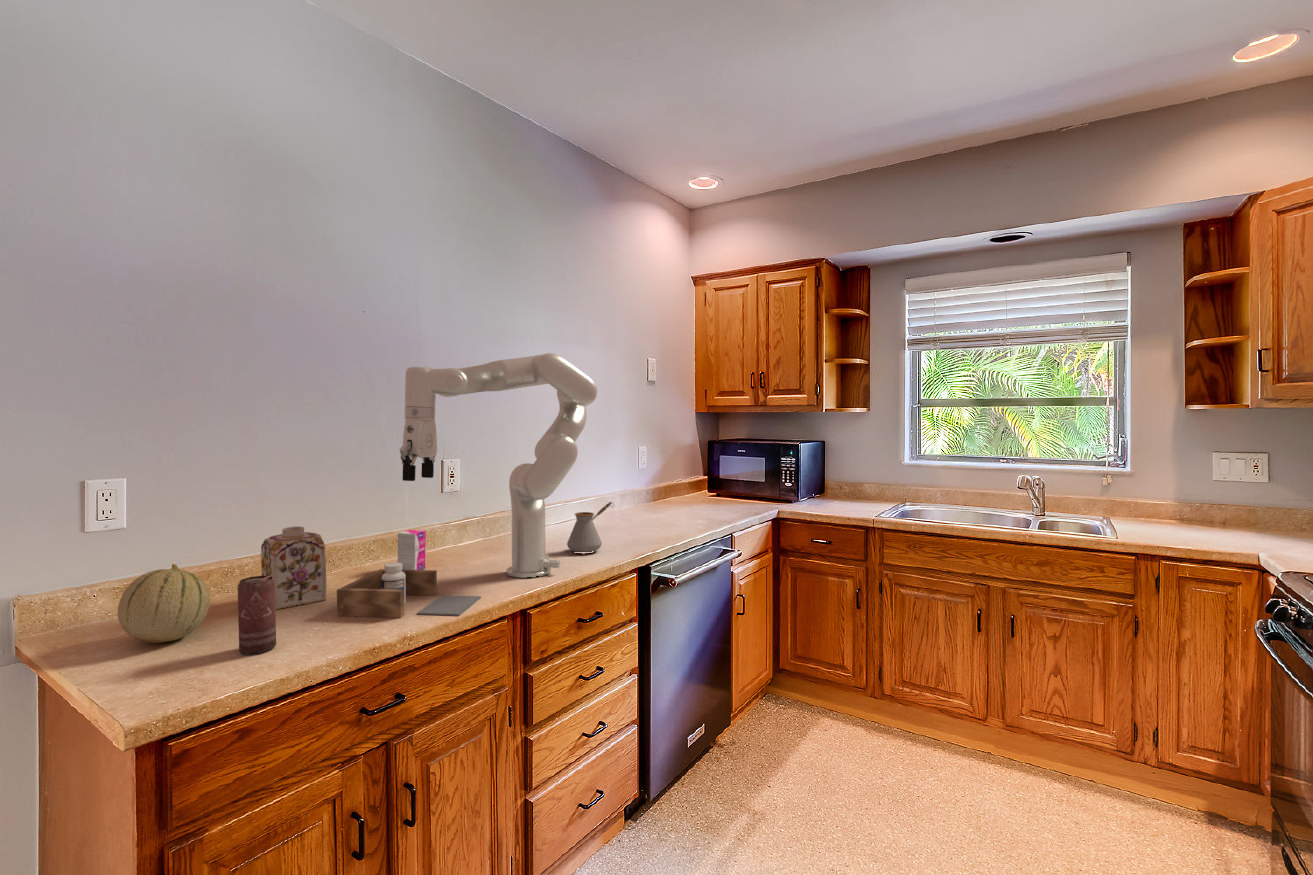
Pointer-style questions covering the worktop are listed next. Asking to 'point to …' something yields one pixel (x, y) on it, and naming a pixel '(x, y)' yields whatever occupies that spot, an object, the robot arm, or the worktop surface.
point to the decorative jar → (295, 566)
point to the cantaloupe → (163, 605)
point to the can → (256, 615)
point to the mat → (449, 605)
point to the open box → (383, 594)
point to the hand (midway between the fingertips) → (418, 479)
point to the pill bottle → (394, 578)
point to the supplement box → (412, 549)
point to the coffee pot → (585, 532)
